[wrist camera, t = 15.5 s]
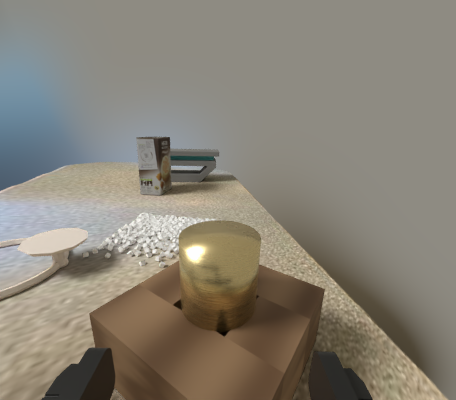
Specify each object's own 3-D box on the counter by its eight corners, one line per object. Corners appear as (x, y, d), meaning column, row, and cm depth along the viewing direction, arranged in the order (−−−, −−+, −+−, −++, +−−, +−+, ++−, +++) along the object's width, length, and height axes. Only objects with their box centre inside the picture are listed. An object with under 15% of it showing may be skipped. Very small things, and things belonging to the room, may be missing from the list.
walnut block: (99, 371, 20) (89, 313, 18) (206, 285, 31) (206, 244, 29) (241, 523, 13) (247, 450, 11) (315, 340, 24) (324, 289, 22)
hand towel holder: (-32, 221, 39) (105, 216, 42) (-24, 246, 40) (108, 239, 44) (-181, 289, 23) (58, 272, 26) (-160, 326, 24) (65, 304, 28)
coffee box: (161, 195, 69) (158, 138, 64) (140, 194, 70) (135, 137, 65) (172, 188, 78) (170, 136, 73) (153, 186, 78) (150, 136, 74)
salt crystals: (226, 224, 53) (227, 217, 52) (206, 276, 34) (207, 266, 34) (140, 217, 55) (140, 210, 55) (78, 261, 37) (76, 251, 36)
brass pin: (167, 358, 21) (160, 239, 18) (211, 315, 26) (212, 215, 22) (226, 404, 18) (231, 268, 14) (263, 344, 23) (274, 232, 19)
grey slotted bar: (148, 181, 85) (145, 150, 82) (152, 177, 92) (150, 148, 89) (218, 182, 87) (219, 152, 84) (217, 177, 95) (217, 149, 92)
